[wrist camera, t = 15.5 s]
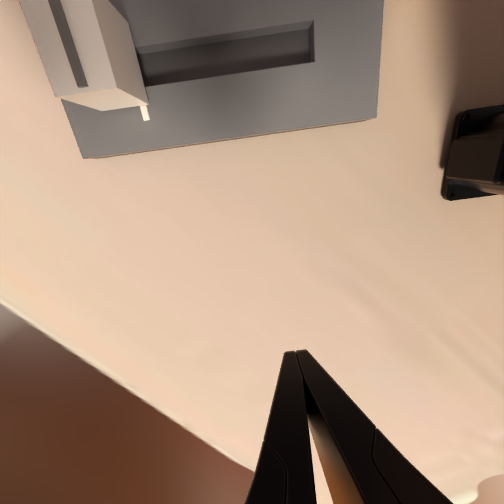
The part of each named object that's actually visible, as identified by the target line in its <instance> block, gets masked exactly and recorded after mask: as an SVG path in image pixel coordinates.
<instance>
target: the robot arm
mask: <svg viewBox="0 0 504 504" xmlns="http://www.w3.org/2000/svg"><path fill="white" fill-rule="evenodd" d="M464 116H466V119H465V121H464V120H463V118H464ZM451 192H452V194H451V195H450V196H449V194H450V193H451ZM498 194H500V195H504V105H498V106H491V107H484V108H477V109H470V110H465V111H461V112H460V113H459V114H458V115H457V116H456V119H455V125H454V131H453V136H452V142H451V148H450V154H449V159H448V165H447V171H446V177H445V183H444V188H443V194H442V197H443V199H445V200H449V201H453V200H460V199H468V198H475V197H483V196H491V195H498ZM308 424H309V426H308ZM309 427H310V430H311V433H312V436H313V440H314V443H315V446H316V449H317V452H318V456H319V459H320V462H321V465H322V468H323V472H324V475H325V478H326V481H327V484H328V487H329V491H330V494H331V497H332V500H333V503H334V504H453V503H452V502H451V501H450V500H449V499H448V498H447V497H446V496H445V495H444V494H443V493H442V492H441V491H439V490H438V489H437V488H436V487H435V486H434V485H433V484H432V483H431V482H430V481H429V480H428V479H427V478H426V477H425V476H424V475H422V474H421V473H420V472H419V471H418V470H417V469H416V468H415V467H414V466H413V465H412V464H411V463H410V462H409V461H408V460H407V459H406V458H405V457H404V456H403V455H402V454H401V453H400V452H399V451H398V450H397V449H396V448H395V446H394V445H393V444H392V443H391V442H390V441H389V440H388V439H387V438H386V437H385V436H384V435H383V433H382V432H381V431H380V430H379V429H378V428H377V429H376V426H375V425H374V424H373V423H372V421H371V420H370V419H369V418H368V417H367V416H366V415H365V414H364V413H363V411H362V410H361V409H360V408H359V407H358V406H357V405H356V404H355V403H354V402H353V400H352V399H351V398H350V397H349V396H348V395H347V394H346V393H345V392H344V390H343V389H342V388H341V387H340V386H339V385H338V384H337V383H336V382H335V381H334V379H333V378H332V377H331V376H330V375H329V374H328V373H327V372H326V371H325V369H324V368H323V367H322V366H321V365H320V364H319V363H318V362H317V361H316V360H315V358H314V357H313V356H312V355H311V354H310V353H309V352H308V351H307V350H305V349H304V350H297V351H296V352H295V351H287V352H285V353H284V356H283V360H282V364H281V368H280V372H279V376H278V381H277V385H276V389H275V393H274V397H273V402H272V406H271V410H270V414H269V418H268V423H267V427H266V431H265V435H264V441H263V443H262V447H261V451H260V455H259V459H258V463H257V466H256V470H255V474H254V477H253V480H252V483H251V486H250V489H249V492H248V495H247V498H246V500H245V503H244V504H317V501H316V492H315V482H314V473H313V464H312V454H311V445H310V435H309Z"/></svg>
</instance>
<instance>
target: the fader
mask: <svg viewBox="0 0 504 504" xmlns="http://www.w3.org/2000/svg"><path fill="white" fill-rule="evenodd" d="M19 2H20V5H21V7H22V10H23V13H24V15H25V18H26V21H27V23H28V26H29V29H30V31H31V34H32V36H33V39H34V42H35V44H36V47H37V50H38V52H39V55H40V58H41V60H42V63H43V66H44V68H45V71H46V74H47V76H48V79H49V81H50V84H51V87H52V89H53V92H54V95H55V97H57V98H60V99H64V100H67V101H70V102H74V103H77V104H80V105H83V106H87V107H90V108H93V109H97V110H100V111H107V110H114V109H121V108H128V107H135V106H142V105H149V103H148V99H147V95H146V91H145V87H144V83H143V78H142V74H141V70H140V66H139V62H138V59H137V55H136V51H135V47H134V43H133V39H132V35H131V32H130V28H129V24H128V22H127V21H126V20H125V19H124V17H123V16H122V15H121V14H120V13H119V12H118V11H117V10H116V8H115V7H114V6H113V5H112V4H111V3H110V2H109V1H108V0H19Z"/></svg>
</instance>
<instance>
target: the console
mask: <svg viewBox="0 0 504 504" xmlns="http://www.w3.org/2000/svg"><path fill="white" fill-rule="evenodd" d="M108 1H109V2H110V3H111V4H112V5H113V6H114V7H115V8H116V10H117V11H118V12H119V13H120V14H121V15H122V16H123V17H124V19H125V20H126V21H127V22H128V24H129V28H130V32H131V35H132V39H133V43H134V47H135V51H136V55H137V59H138V62H139V66H140V70H141V74H142V78H143V83H144V87H145V91H146V95H147V99H148V103H149V105H142V106H135V107H128V108H121V109H114V110H107V111H100V110H97V109H93V108H90V107H87V106H83V105H80V104H77V103H74V102H70V101H67V100H64V99H61V101H62V104H63V106H64V109H65V112H66V114H67V117H68V120H69V122H70V125H71V128H72V130H73V133H74V136H75V139H76V141H77V144H78V147H79V149H80V152H81V155H82V157H83V159H94V158H106V157H113V156H120V155H127V154H134V153H141V152H148V151H155V150H163V149H170V148H177V147H184V146H191V145H198V144H205V143H212V142H219V141H226V140H233V139H240V138H248V137H255V136H262V135H269V134H276V133H283V132H290V131H297V130H304V129H311V128H318V127H326V126H333V125H340V124H347V123H354V122H361V121H365V120H369V119H372V118H376V117H377V103H378V86H379V70H380V54H381V38H382V22H383V5H384V0H108Z"/></svg>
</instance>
